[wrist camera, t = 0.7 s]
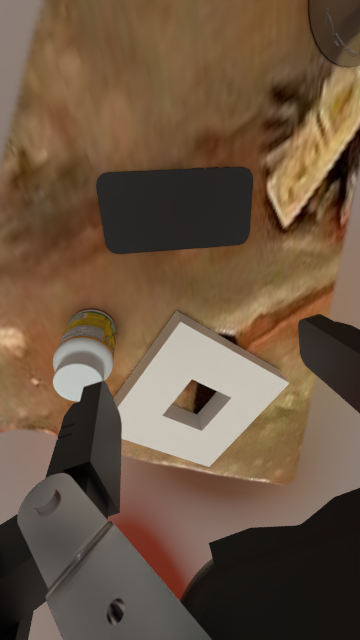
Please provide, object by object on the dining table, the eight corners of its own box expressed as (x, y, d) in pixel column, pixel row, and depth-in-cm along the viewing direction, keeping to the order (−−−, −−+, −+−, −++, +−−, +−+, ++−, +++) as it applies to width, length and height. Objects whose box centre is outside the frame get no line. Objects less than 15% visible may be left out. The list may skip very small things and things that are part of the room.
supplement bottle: (73, 302, 29) (49, 349, 20) (122, 315, 30) (118, 363, 22) (64, 343, 31) (38, 402, 22) (110, 353, 32) (103, 411, 24)
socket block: (176, 310, 31) (180, 321, 29) (278, 369, 38) (289, 382, 35) (102, 413, 36) (100, 431, 34) (204, 449, 43) (209, 466, 40)
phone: (93, 172, 24) (254, 165, 25) (95, 172, 24) (251, 166, 26) (107, 255, 27) (248, 244, 29) (108, 253, 28) (245, 243, 29)
